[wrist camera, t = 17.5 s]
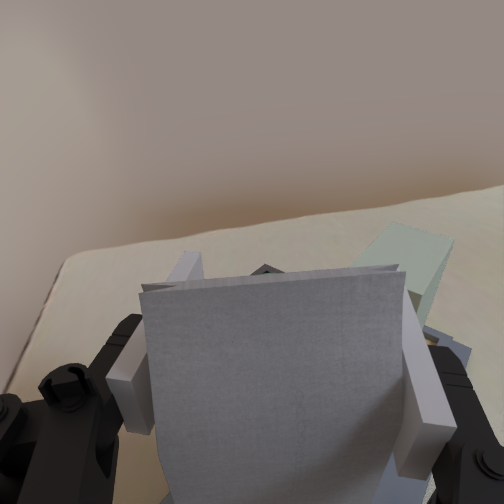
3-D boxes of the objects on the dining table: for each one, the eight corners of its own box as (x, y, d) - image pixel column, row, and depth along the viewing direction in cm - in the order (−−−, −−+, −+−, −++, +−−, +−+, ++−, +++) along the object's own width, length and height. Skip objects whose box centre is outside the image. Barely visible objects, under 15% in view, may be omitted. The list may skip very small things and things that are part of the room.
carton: (368, 323, 28) (392, 221, 23) (416, 345, 26) (455, 238, 21) (330, 378, 24) (348, 267, 19) (384, 410, 22) (422, 295, 16)
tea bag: (366, 513, 12) (447, 318, 7) (186, 538, 12) (122, 349, 6) (335, 418, 15) (374, 234, 10) (191, 436, 15) (150, 250, 10)
